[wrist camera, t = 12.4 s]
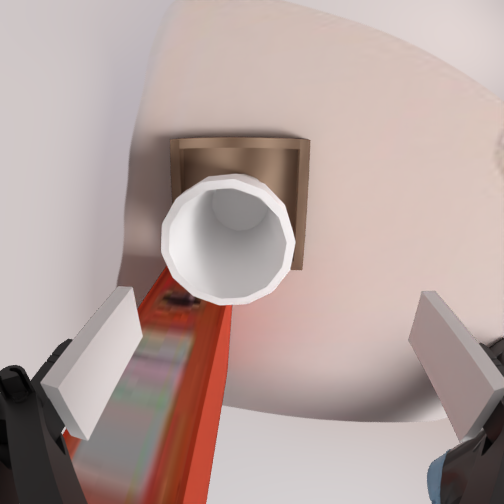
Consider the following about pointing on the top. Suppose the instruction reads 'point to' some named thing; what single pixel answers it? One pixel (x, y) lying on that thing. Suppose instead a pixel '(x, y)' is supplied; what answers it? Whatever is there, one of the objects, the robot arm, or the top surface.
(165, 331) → the file binder
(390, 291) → the top surface
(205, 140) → the square wooden tray
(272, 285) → the foam cup
